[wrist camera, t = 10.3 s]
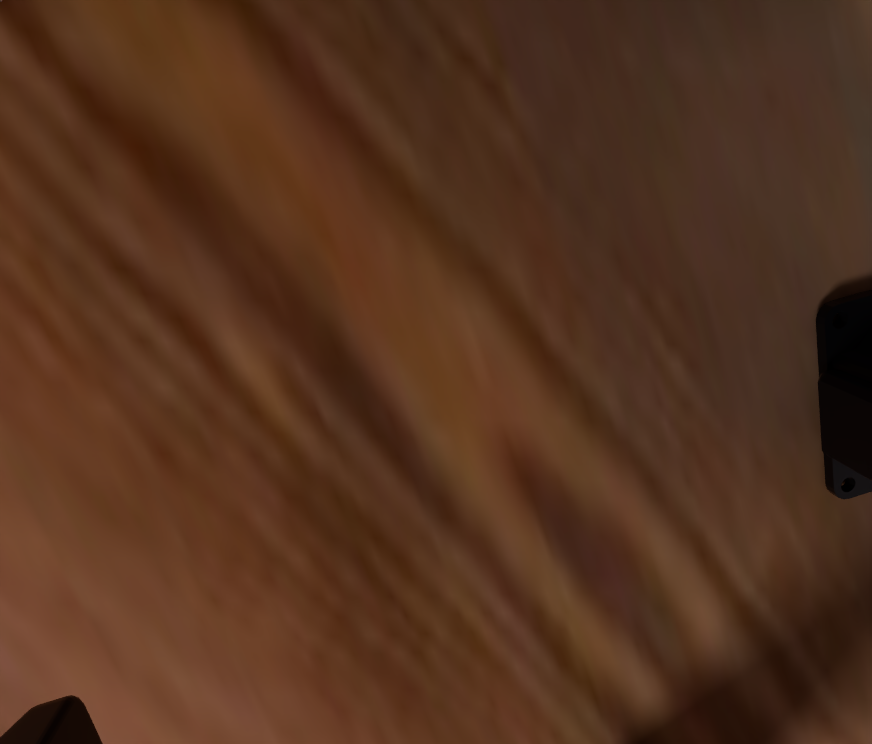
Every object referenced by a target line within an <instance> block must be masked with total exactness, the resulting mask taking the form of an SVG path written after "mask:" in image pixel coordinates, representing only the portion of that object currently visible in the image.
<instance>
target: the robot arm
mask: <svg viewBox="0 0 872 744" xmlns="http://www.w3.org/2000/svg"><path fill="white" fill-rule="evenodd" d="M837 313H838V314H839V317H838V320H837V322H836V323H835V324H833V323H832V321H833V318H834V316H835V315H836V314H837ZM816 332H817V349H818V365H819V380H818V392H819V408H820V425H821V441H822V451H823V452H824V466H825V483H826V487H827V489H828V490H829V492H831V493H832V494H834V495H835V496H837V497H838V498H841V499H849V498H852V497H856V496H859V495H862V494H865V493H868V492H872V290H869V291H866V292H862V293H858V294H855V295H851V296H848V297H844V298H841V299H837V300H833V301H830V302H828V303H826V304H824V305H823V306H822V307H821V308H820V310H819V312H818V314H817V317H816ZM846 478H847V479H846ZM845 479H846V482H845V483H844V485H842V486H841V484H842V482H843V481H844V480H845ZM0 744H102V741H101V739H100V737H99V735H98V733H97V731H96V728H95V726H94V724H93V722H92V720H91V718H90V715H89V713H88V711H87V709H86V707H85V705H84V703H83V702H82V701H81V700H80V699H79V698H78V697H75V696H72V695H70V696H66V697H63V698H59V699H56V700H53V701H49V702H46V703H43V704H40V705H37V706H35V707H33V708H31V709H30V710H29V711H28V712H27V713H26V714H25V715H23V716H22V717H21V718H20V719H19V720H18V721H17V722H16V723H15V724H14V725H13V726H12V727H11V728H10V729H9V730H8V731H7V732H5V733H4V734H3V735H2V736H1V737H0Z"/></svg>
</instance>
